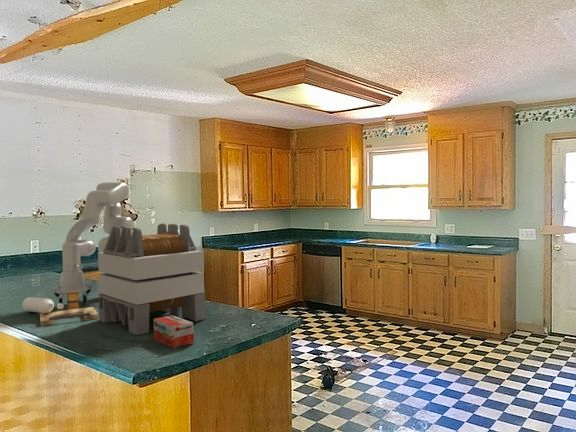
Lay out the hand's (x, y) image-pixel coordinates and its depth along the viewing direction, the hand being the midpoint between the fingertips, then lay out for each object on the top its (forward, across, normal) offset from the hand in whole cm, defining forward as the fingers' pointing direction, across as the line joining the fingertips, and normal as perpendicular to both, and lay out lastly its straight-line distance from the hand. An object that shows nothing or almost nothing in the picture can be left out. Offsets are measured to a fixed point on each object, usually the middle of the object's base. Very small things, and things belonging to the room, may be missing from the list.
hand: (73, 305), depth 222 cm
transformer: (+3, -28, +37) cm, 46 cm away
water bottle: (-1, +17, -10) cm, 19 cm away
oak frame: (+2, +3, +15) cm, 15 cm away
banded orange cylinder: (+2, 0, 0) cm, 2 cm away
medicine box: (+3, -27, +72) cm, 77 cm away
